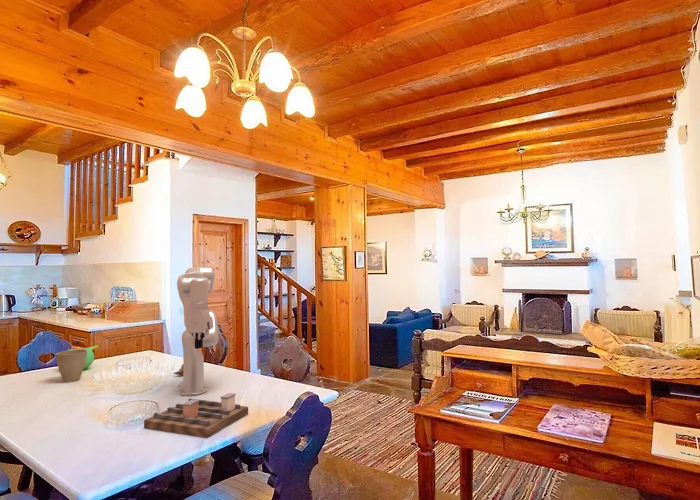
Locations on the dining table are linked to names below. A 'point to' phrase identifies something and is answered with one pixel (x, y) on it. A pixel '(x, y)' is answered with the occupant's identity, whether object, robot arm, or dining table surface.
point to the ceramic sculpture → (180, 371)
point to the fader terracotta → (190, 408)
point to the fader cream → (228, 401)
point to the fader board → (196, 419)
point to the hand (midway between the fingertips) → (198, 348)
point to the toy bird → (89, 353)
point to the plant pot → (71, 364)
